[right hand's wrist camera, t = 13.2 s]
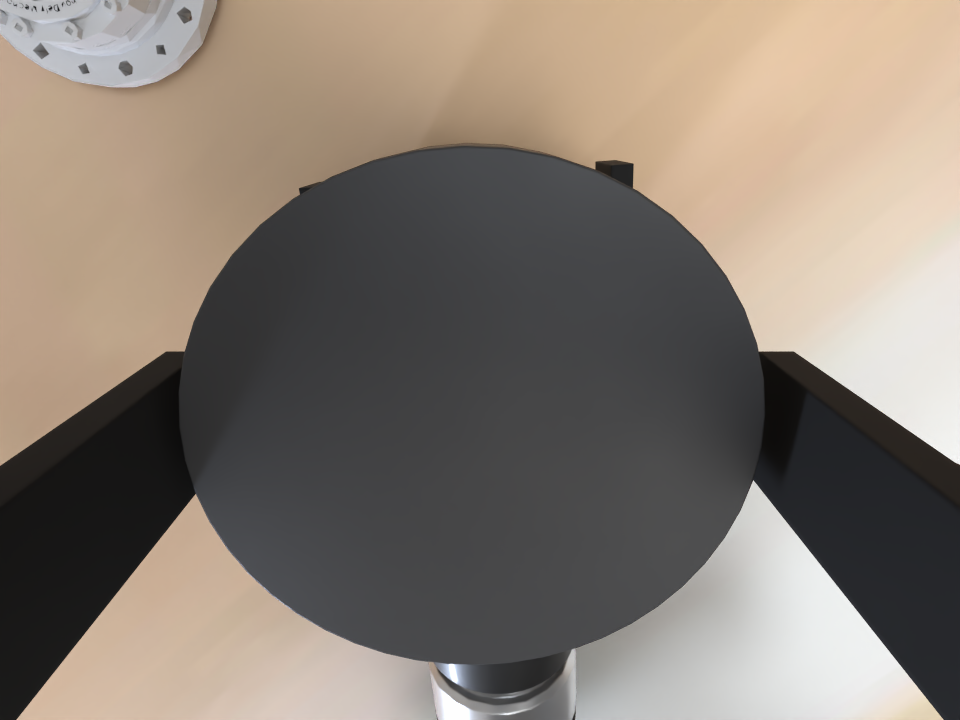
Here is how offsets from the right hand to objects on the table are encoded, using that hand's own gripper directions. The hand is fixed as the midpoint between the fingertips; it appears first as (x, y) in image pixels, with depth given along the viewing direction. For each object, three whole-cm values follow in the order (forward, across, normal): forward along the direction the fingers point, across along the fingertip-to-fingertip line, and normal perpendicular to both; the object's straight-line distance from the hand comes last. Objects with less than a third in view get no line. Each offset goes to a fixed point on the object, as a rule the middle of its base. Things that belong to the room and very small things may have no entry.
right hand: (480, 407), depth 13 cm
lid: (-2, 0, 0) cm, 2 cm away
